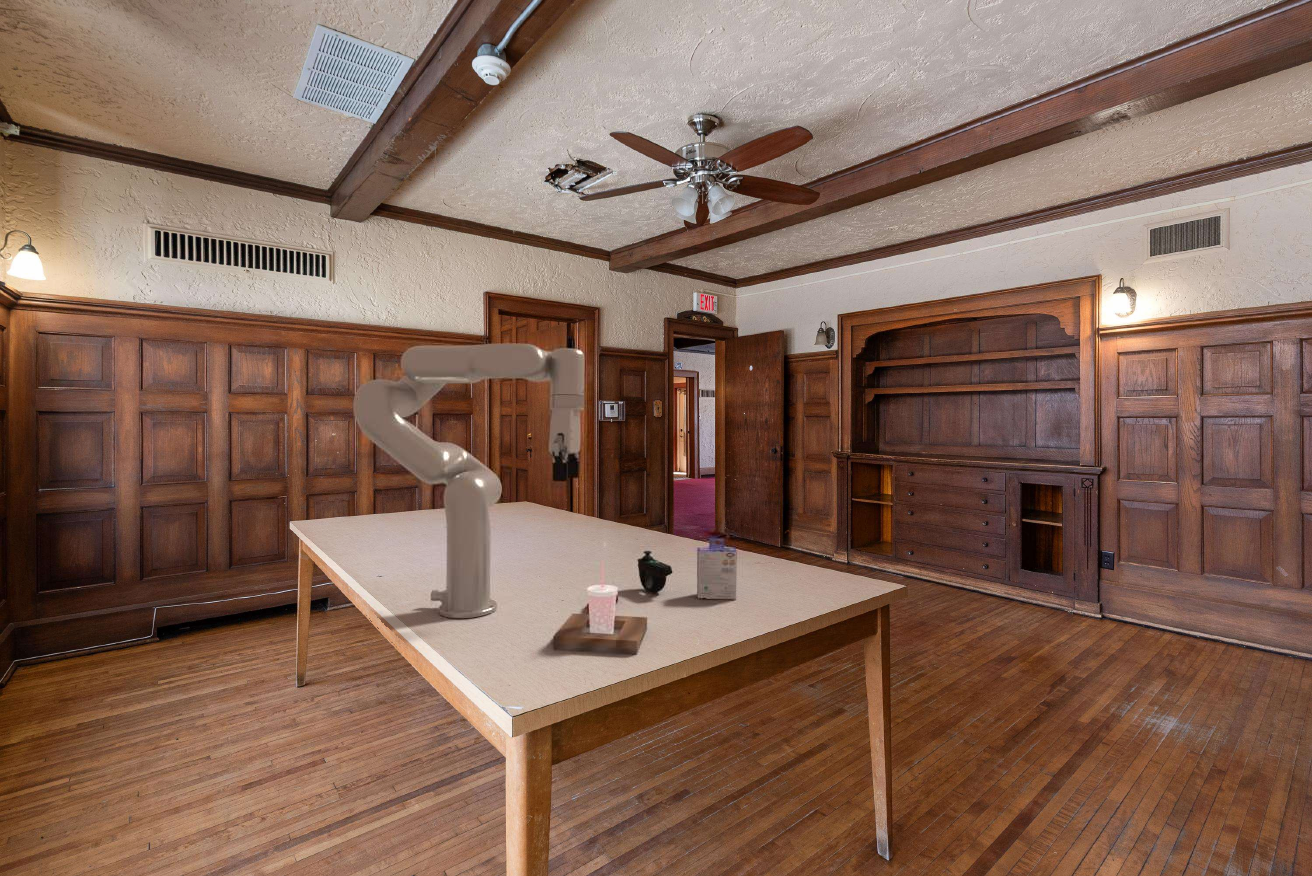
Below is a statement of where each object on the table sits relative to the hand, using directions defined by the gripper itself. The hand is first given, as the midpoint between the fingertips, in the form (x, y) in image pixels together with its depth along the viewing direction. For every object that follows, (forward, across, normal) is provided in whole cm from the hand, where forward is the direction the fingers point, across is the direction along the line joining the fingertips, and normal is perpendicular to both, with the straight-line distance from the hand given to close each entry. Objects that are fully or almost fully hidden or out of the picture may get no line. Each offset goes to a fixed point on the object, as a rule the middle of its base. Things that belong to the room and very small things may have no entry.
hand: (566, 479), depth 132 cm
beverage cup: (+30, +15, +12) cm, 35 cm away
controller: (+31, -20, +18) cm, 41 cm away
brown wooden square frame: (+30, +15, +12) cm, 36 cm away
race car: (+31, -6, +8) cm, 32 cm away
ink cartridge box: (+31, -19, +34) cm, 50 cm away
